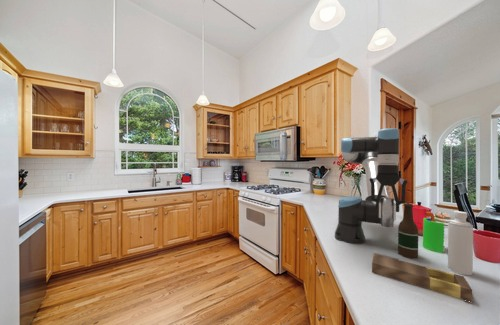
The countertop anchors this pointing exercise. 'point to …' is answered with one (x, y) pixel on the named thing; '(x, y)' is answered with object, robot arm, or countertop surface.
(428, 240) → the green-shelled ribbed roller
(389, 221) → the peg
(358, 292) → the countertop surface
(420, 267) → the rail
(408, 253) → the beer bottle
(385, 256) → the mat
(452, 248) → the white bottle
